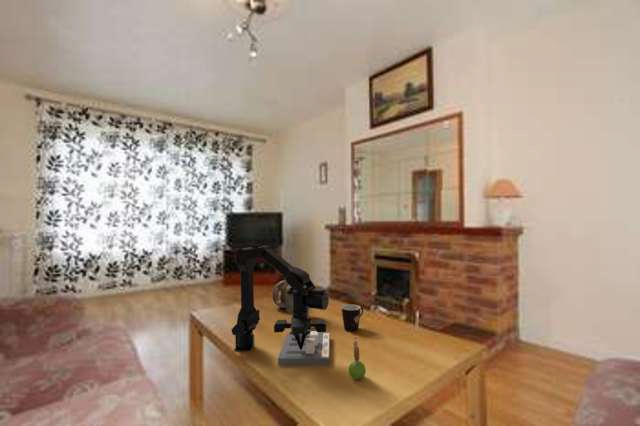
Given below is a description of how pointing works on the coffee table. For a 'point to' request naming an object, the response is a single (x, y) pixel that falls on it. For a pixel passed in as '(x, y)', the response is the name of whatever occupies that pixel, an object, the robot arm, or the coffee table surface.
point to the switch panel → (298, 357)
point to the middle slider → (314, 336)
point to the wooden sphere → (280, 294)
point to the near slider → (310, 345)
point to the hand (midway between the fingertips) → (301, 349)
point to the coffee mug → (351, 317)
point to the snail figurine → (356, 364)
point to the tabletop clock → (289, 301)
